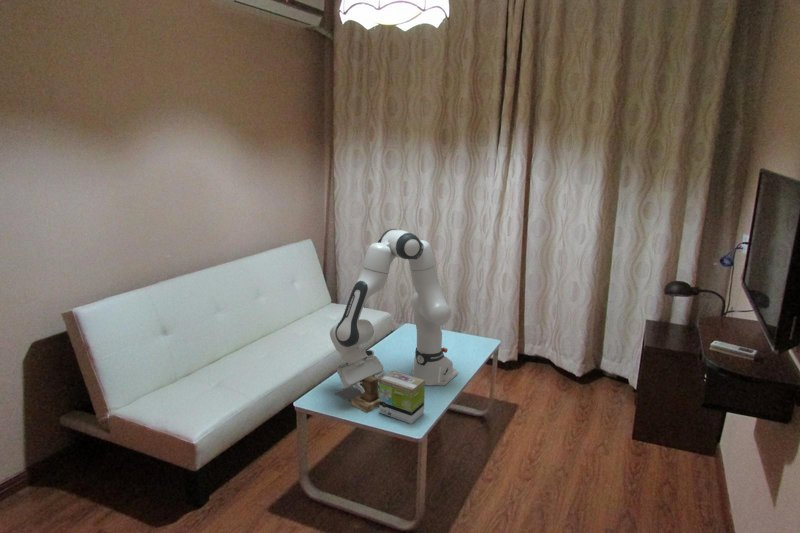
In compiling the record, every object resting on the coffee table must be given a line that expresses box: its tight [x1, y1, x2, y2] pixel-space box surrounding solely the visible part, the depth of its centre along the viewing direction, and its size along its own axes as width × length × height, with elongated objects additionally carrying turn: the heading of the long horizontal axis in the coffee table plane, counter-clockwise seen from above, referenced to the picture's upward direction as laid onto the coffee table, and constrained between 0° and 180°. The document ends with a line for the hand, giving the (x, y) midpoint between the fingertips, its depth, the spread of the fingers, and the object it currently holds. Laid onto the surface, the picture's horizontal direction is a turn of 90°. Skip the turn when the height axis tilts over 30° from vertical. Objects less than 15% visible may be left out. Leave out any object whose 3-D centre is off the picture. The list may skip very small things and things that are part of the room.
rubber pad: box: [334, 385, 362, 402], centre depth 218 cm, size 9×9×1 cm
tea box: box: [378, 370, 426, 425], centre depth 201 cm, size 15×10×15 cm
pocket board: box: [350, 391, 380, 414], centre depth 210 cm, size 12×9×2 cm
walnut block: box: [361, 376, 379, 403], centre depth 209 cm, size 4×4×11 cm
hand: (371, 389), depth 209 cm, fingers open, 6 cm apart
